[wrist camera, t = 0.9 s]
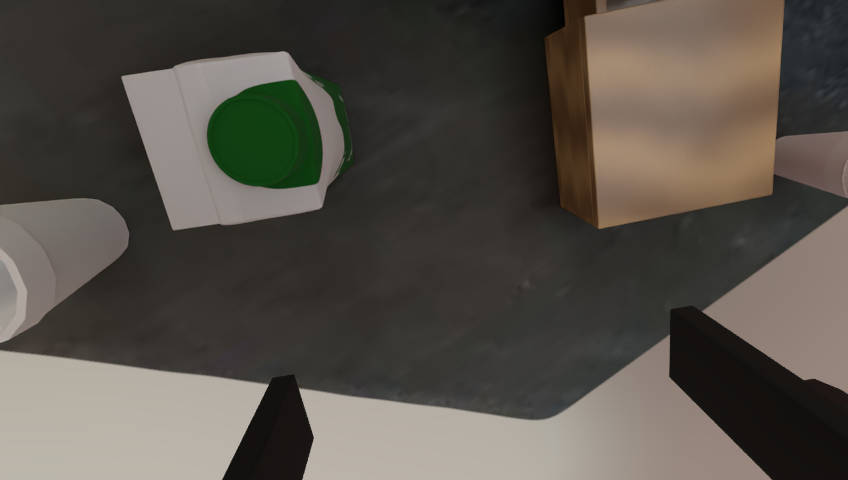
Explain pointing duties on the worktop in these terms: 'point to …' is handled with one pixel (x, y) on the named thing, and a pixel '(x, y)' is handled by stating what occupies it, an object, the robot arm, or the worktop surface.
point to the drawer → (595, 7)
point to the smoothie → (814, 160)
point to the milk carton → (240, 137)
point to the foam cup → (52, 255)
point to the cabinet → (665, 107)
